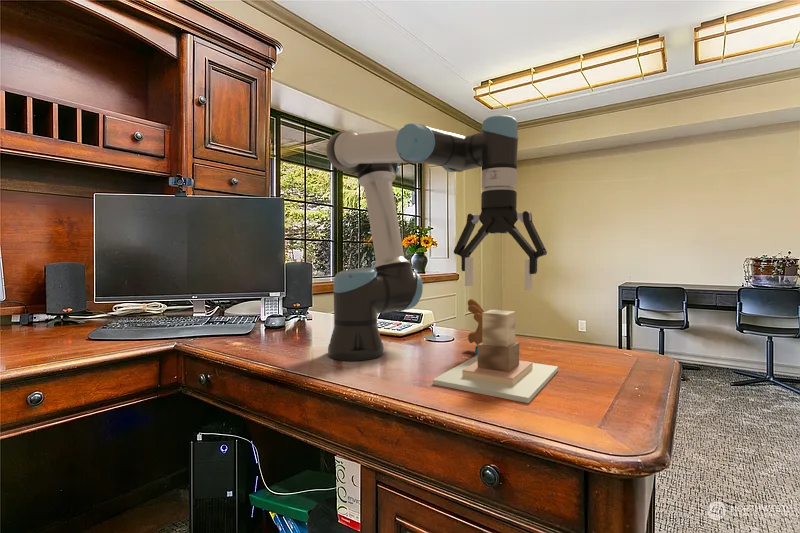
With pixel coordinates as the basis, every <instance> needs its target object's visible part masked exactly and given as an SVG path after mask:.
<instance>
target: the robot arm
mask: <svg viewBox="0 0 800 533" xmlns="http://www.w3.org/2000/svg"><path fill="white" fill-rule="evenodd" d="M481 125H482V126H481V131H479V132H477V133H474V134H473V133H472V134H469V135H461V134H457V133H453V132H450V131H444V130H441V129H437V128H433V127H429V126H426V125H424V124H416V123H407V124H404V126H403V127H402V128H400V129H396V130H393V129H392V130H386V131H376V132H366V133H356V132H354V131H351V130H350V131H349V130H348V131H347V130H346V131H339V132H336V133H335V134H333V135H332V136H331V137H330V138H329V140H328V141H327V143H326V147H325V148H326V149H325V150H326V157H327V159H328V160H329V162H330V164H331V165H332V166H333V167H334V168H336V169H337V170H339V171H341V172H345V173H349V174H355V175H357V183H358V185H359V186H361V187H362V188H363V189H364V195H365V201H366V207H367V214H368V219H369V225H370V231H371V239H372V245H373V250H374V252H373V253H374V258H375V264H374V265H373V267H359V268H358V267H357V268H350V269H346V270H342V271H339V272H337V273H336V274H335V276H334V277H333V288H332V291H333V320H334V322H333V330H332V333H331V336H330V341H329V344H328V346H327V356H328V357H329V358H331V359H333V360H338V361H346V362H348V361H349V362H350V361H352V362H356V361H358V362H359V361H368V360H373V359H377V358H380V357H381V356H383V355H384V353H385V352H384V349H385V347H384V343H383V341H382V338H381V335H380V334H381V333H380V331H379V327H378V314H383V313H391V312H392V313H393V312H402V311H405V310H406V311H407V310H410V309H413V308H415V307H416V306H417V305H418V304H419V302H420V299H422V298H421V297H422V296H423V288H424V287H423V286H424V284H423V279H422V277H421V275H420V274H419V273H418V272H417V271H415V270H413V269H412V265H411V264H412V263H411V262H410V260H408V259H407V258H405V253H404V249H403V248H404V246H403V242H402V235H401V231H400V230H401V228H400V224H399V219H398V212H397V206H396V200H395V195H394V194H395V193H394V189H393V188H394V187H393V182H394V181H395V180H396V175H397V174H398V173H399V171H400V165H401V164H407V163H408V164H427V165H433V166H439V167H442V168H443V169H444V171H446V172H448V173H456V172H458V173H461V172H465V171H467V170H473V169H478V168H481V189H482V190H483V191H482V193H481V196H480V197H481V198H480V208H481V209H480V210H481V212H480V214H475V213H468V214H467V216H466V224H465V226H464V228H463V230H462V232H461V234H460V236H459V239H458V241H457V243H456V245H455V247H454V250H453V254H454V255H457V256H460V259H461V272H464V287H472V286H473V280H474V278H473V277H474V276H473V274H474V273H473V270H474V257H473V256H471V255H472V254H473V252H474V251H475V250H476V249H477V247H478V246H479V245H480V244H481V242H483V240H484V239H485V237H486V236H488V235H489V234H494V235H495V234H509V235H510V236H511V237H512V238H513V240H515V242H516V243H517V244H518V245H519V246H520V248H521V249H522V250H523V251H524V253H525V254H526V255H527V256H528V258H525V260H524V263H525V264H524V270H525V271H524V291H529V290H532V289H533V275H536V274H537V272H538V259H540V258H541V257H544V256H547V253H548V252H547V250H546V247H545V245H544V243H543V240H542V239H541V237H540V235H539V233H538V231H537V229H536V227H535V225H534V223H533V214H532V213H531V211H527V210H525V211H523V212H520V213H519V212H518V211H517V206H518V205H517V196H518V195H517V194H518V193H517V191H516V189H517V187H518V163H517V162H518V147H519V146H518V145H519V135H518V133H519V132H518V121H517V119H516V118H515V117H514V116H510V115H506V114H505V115H504V114H503V115H502V114H500V115H498V114H497V115H493V116H488V117H487V118H486V119H484V120H483V121H482V124H481ZM518 220H519V221H520V222H521V223H522V224H523V225H524V228H525V230H526V231H527V234H528V236H529V237H530V240H531V242H532V244H533V246H534V247H532V246H531V244H530V243H529V242H528V241H527V239H526V238H525V237H524V236H523V234H522V233H521V232H520V231H519V229H518V228H517V226H516V225H515V224H516V223H517V222H518ZM478 222H480V223H481V224H482V225H481V226H480V227H479V229H478V230H477V233H475V235H474V236H473V238H472V239H471V240H470V238H471V236H472V233H473V231H474V229H475V227H476V225H477V224H478ZM469 240H470V241H469Z"/></svg>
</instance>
